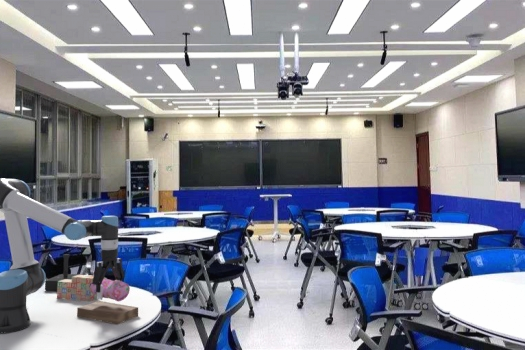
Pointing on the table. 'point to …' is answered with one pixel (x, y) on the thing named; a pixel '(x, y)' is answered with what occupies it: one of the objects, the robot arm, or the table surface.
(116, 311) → the walnut riser
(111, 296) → the pencil case
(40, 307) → the table surface
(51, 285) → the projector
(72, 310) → the table surface
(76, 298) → the stack of blocks
